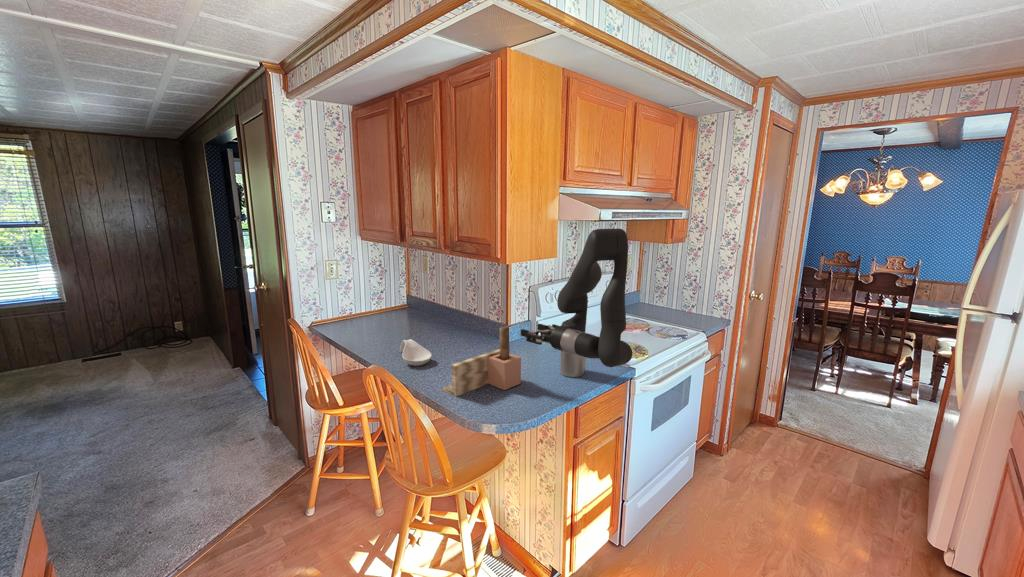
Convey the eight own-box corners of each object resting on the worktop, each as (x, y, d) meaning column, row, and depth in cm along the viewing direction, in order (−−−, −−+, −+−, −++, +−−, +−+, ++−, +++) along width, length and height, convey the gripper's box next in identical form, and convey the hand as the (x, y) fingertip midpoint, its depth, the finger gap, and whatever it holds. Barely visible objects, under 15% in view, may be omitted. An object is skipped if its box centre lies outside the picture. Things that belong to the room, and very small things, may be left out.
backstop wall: (492, 372, 169) (492, 345, 167) (505, 376, 165) (505, 349, 163) (443, 390, 152) (442, 361, 150) (455, 396, 148) (455, 366, 146)
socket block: (504, 376, 164) (504, 351, 162) (520, 383, 158) (520, 357, 156) (488, 383, 158) (487, 357, 156) (504, 390, 152) (504, 363, 150)
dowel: (504, 362, 159) (504, 326, 157) (511, 365, 157) (511, 327, 154) (497, 365, 157) (497, 327, 154) (504, 367, 154) (504, 329, 152)
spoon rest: (436, 365, 177) (435, 348, 176) (408, 371, 171) (407, 353, 170) (416, 349, 197) (416, 334, 196) (391, 354, 191) (390, 338, 190)
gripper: (582, 324, 139) (543, 314, 150) (554, 334, 129) (515, 323, 140) (581, 346, 140) (543, 335, 151) (554, 357, 130) (515, 345, 141)
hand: (529, 329), depth 146 cm, fingers open, 8 cm apart
